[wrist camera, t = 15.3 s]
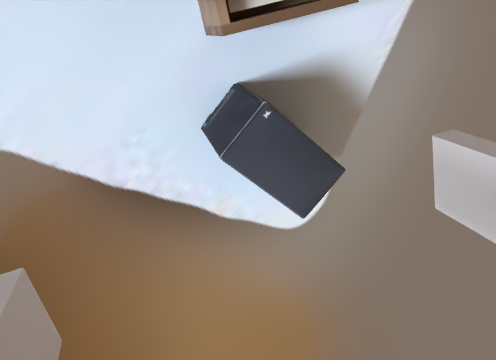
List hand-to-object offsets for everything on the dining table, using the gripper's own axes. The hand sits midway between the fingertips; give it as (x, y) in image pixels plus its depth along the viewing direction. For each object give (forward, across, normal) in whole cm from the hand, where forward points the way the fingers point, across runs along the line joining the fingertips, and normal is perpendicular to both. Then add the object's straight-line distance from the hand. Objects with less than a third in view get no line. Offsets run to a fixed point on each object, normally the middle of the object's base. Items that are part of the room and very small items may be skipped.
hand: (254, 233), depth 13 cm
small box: (+31, +7, -7) cm, 33 cm away
